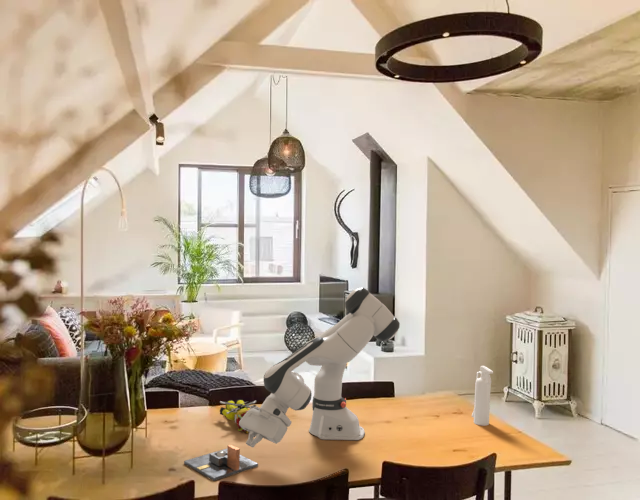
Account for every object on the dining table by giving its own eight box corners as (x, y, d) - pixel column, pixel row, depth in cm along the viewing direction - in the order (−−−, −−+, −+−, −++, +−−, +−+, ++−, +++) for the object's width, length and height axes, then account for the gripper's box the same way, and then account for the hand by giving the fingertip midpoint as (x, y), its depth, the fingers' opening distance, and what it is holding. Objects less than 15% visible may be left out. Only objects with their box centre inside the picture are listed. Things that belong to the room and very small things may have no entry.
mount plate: (257, 466, 202) (258, 453, 202) (213, 481, 190) (214, 467, 190) (227, 450, 215) (227, 438, 215) (184, 463, 203) (184, 450, 202)
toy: (216, 416, 257) (227, 437, 229) (216, 395, 257) (227, 414, 229) (252, 413, 262) (268, 434, 234) (253, 393, 262) (268, 411, 234)
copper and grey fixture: (244, 467, 198) (245, 447, 197) (230, 472, 194) (230, 451, 193) (223, 456, 206) (223, 437, 206) (209, 460, 202) (209, 440, 202)
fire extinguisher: (479, 416, 263) (481, 362, 261) (495, 426, 252) (497, 369, 250) (466, 418, 261) (468, 362, 259) (481, 428, 250) (483, 370, 248)
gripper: (249, 400, 216) (226, 432, 210) (285, 414, 202) (262, 449, 195) (258, 409, 220) (236, 441, 213) (294, 424, 205) (272, 459, 199)
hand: (249, 445), depth 204 cm, fingers closed
